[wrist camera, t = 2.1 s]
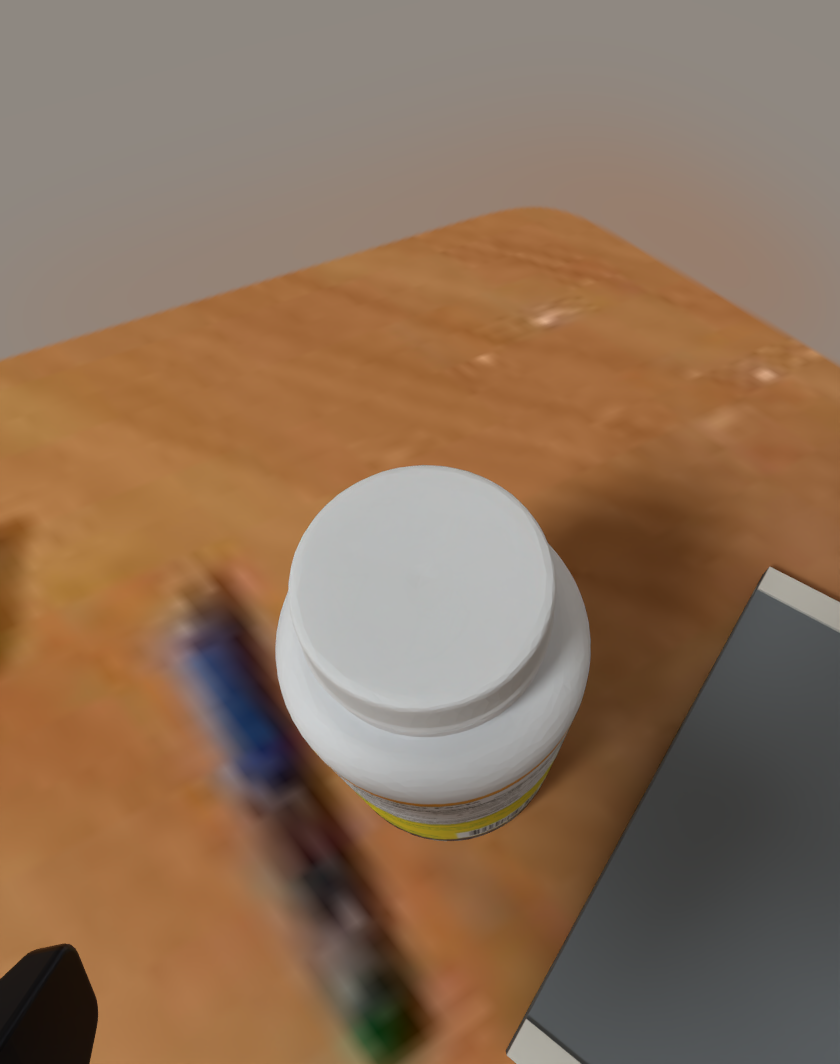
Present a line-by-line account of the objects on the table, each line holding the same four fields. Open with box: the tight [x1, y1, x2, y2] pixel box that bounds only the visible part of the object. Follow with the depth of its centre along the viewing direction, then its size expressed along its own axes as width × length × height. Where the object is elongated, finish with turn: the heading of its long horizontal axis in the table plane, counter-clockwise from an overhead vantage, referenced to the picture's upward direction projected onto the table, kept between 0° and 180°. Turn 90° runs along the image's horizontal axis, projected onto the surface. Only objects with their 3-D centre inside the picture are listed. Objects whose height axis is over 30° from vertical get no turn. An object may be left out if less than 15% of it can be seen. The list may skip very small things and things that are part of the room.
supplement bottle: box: [276, 465, 591, 841], centre depth 15 cm, size 6×6×10 cm
